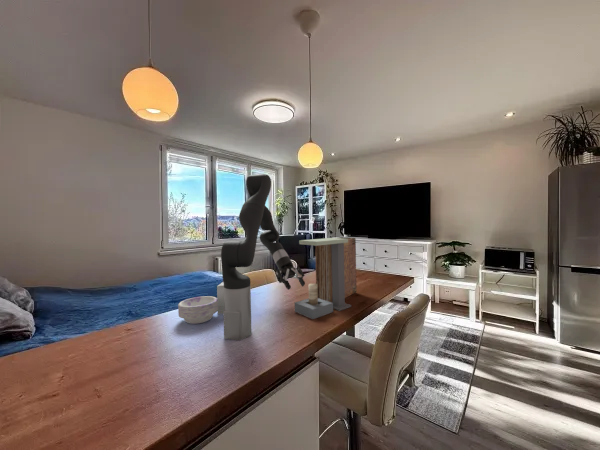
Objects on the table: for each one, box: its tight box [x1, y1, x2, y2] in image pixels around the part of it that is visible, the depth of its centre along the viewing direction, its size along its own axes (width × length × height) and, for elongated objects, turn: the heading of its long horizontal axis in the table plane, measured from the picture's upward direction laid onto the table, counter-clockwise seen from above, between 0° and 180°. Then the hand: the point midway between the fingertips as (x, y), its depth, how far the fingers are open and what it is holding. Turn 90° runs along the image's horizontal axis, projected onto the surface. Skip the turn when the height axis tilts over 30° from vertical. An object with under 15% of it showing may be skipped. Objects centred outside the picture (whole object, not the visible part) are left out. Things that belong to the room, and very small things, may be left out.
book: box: [314, 236, 358, 303], centre depth 129 cm, size 25×9×30 cm, turn 140°
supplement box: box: [216, 281, 224, 315], centre depth 112 cm, size 7×7×13 cm
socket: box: [293, 298, 334, 320], centre depth 109 cm, size 12×12×4 cm
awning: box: [298, 237, 352, 312], centre depth 111 cm, size 11×22×32 cm, turn 129°
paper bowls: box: [177, 295, 218, 325], centre depth 103 cm, size 15×15×8 cm
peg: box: [308, 283, 318, 306], centre depth 109 cm, size 4×4×12 cm
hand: (296, 287), depth 118 cm, fingers open, 8 cm apart
